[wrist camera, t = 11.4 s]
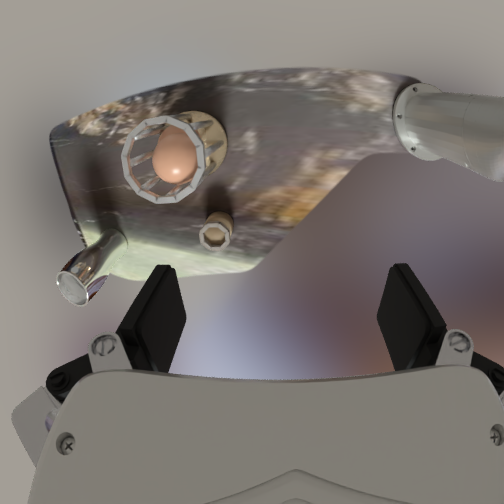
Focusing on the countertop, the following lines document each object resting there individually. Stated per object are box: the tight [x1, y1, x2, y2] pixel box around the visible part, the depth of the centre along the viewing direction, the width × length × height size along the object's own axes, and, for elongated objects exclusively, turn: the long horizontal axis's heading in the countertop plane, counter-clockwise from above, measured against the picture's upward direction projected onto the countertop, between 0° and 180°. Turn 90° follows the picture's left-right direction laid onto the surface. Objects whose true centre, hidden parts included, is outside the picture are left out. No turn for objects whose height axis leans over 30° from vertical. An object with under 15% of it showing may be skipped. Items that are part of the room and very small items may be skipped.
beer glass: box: [56, 228, 128, 307], centre depth 40 cm, size 7×7×15 cm
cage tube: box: [121, 111, 228, 204], centre depth 32 cm, size 10×10×13 cm
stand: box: [199, 211, 234, 251], centre depth 41 cm, size 4×4×5 cm
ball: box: [158, 125, 201, 143], centre depth 33 cm, size 6×6×6 cm
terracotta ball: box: [152, 133, 198, 184], centre depth 29 cm, size 6×6×6 cm
